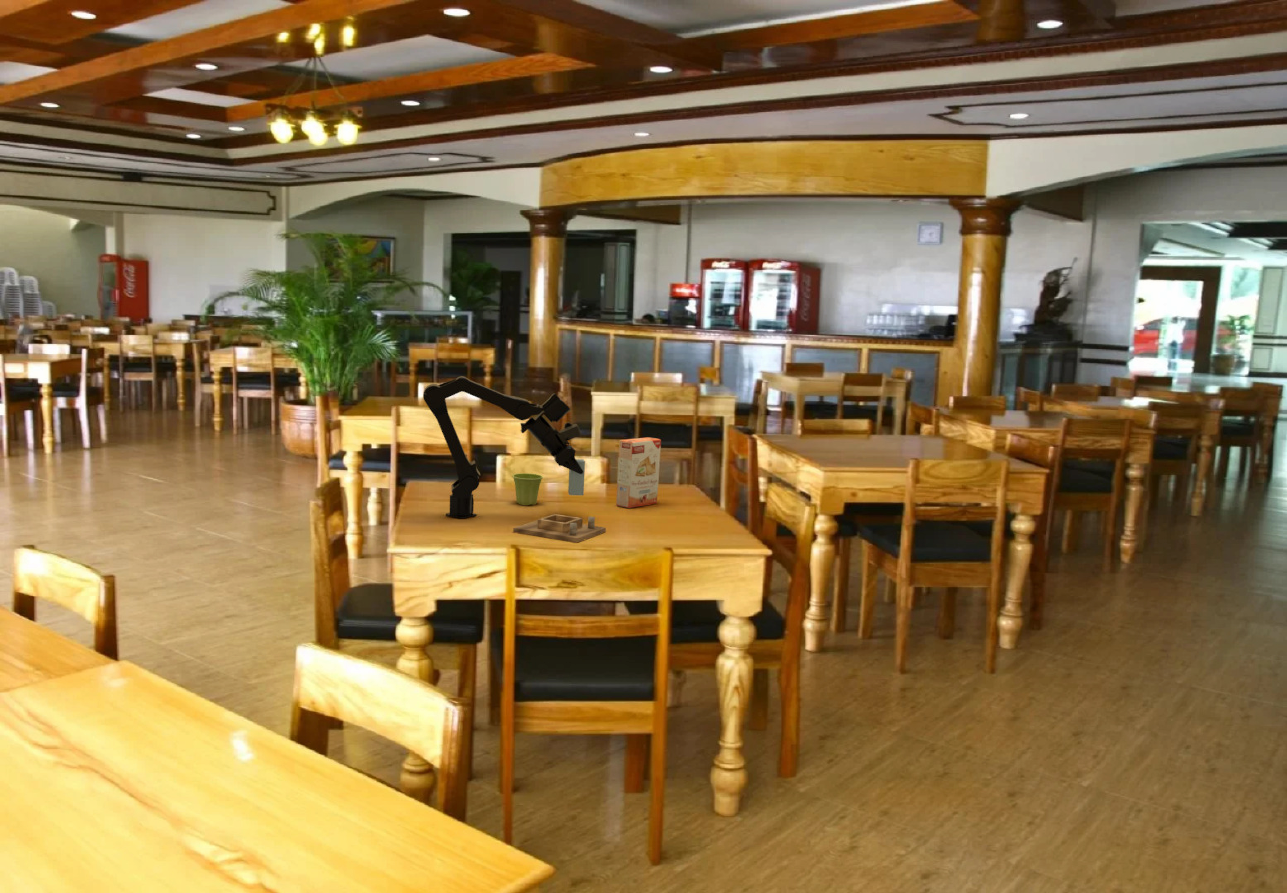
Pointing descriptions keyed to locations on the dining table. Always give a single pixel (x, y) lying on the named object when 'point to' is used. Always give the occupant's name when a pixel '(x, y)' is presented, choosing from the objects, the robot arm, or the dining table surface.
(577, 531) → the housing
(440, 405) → the robot arm
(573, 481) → the pale gray block
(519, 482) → the plant pot
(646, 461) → the cracker box
